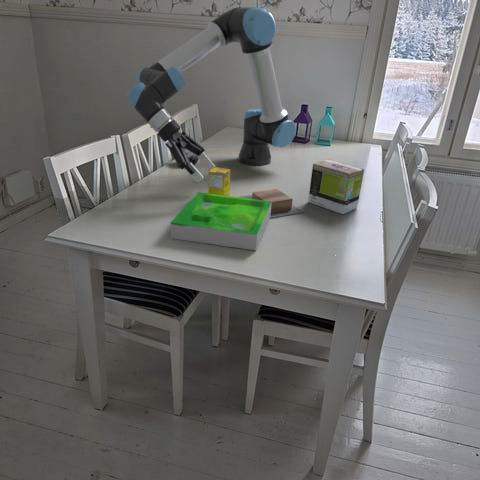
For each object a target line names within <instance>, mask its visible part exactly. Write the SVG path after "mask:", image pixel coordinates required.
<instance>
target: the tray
mask: <svg viewBox="0 0 480 480" xmlns="http://www.w3.org/2000/svg"><path fill="white" fill-rule="evenodd" d="M271 204H272V201H265V200H257V199H249V198H241V196H234V195H233V196H232V195H229V196H225V195H217V194H209V193H208V192H200V191H199V192H197V193H196V194H195V195H194V196H193V197H191V199H190V201H188V203H187V204H186V205H185V206H184V207H183V208H182V209H181V210H180V212H178V214H177V215H176V216H175V217H174V218H173V219H172V220H171V221H170V239H177V240H182V241H189V242H195V243H201V244H202V243H203V244H210V245H215V246H223V247H230V248H236V249H243V250H249V251H257V250H258V246H259V244H260V242H261V239H262V237H263V234H264V232H265V230H266V227H267V225H268V223H269V220H270V219H269V218H270V216H271Z"/></svg>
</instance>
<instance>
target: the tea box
mask: <svg viewBox="0 0 480 480" xmlns="http://www.w3.org/2000/svg"><path fill="white" fill-rule="evenodd" d="M364 174H365V169H364V168H362V167H358V166H354V165H351V164H347V163H344V162H340V161H335V160H332V159H325V160H322V161H321V160H320V161H318V162H315V163H314V162H313V163H312V169H311V175H310V176H311V177H310V183H309V191H308V192H309V193H308V203H310V204H313V205H315V206H319V207H321V208H323V209H327V210H330V211H333V212H335V213H338V214H341V215H345V214H347V213H350V212H352V211H354V210H355V209H357V208H358V204H359V202H360V201H359V199H360V194H361V189H362V184H363V179H364V178H363V177H364Z"/></svg>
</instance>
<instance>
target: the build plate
mask: <svg viewBox="0 0 480 480" xmlns="http://www.w3.org/2000/svg"><path fill="white" fill-rule="evenodd" d="M240 197H241V198H249V199H257V200H265V201H272V204H271V216H270V218H269V220H270V219H277V218H282V217H287V216H294V215H300V214H304V211H303V210H302V209H300V208H299V207H297V206H296V205H294V204H293V198H292V197H291V196H289V195H287V194H285V193H284V192H283V191H281V190H279V189H278V188H275V189H274V188H273V189H267V190H261V191H254V192H252V193H251V194H249V195H242V196H240Z"/></svg>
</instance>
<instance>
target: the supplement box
mask: <svg viewBox="0 0 480 480" xmlns="http://www.w3.org/2000/svg"><path fill="white" fill-rule="evenodd" d="M207 186H208V192H207V193H209V194H217V195H225V196H230V189H231V188H230V186H231V169H230V168H225V167H224V168H223V167H217V166H215V167H214V168H213V169H211V170H210V171H209V170H208V185H207Z"/></svg>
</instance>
